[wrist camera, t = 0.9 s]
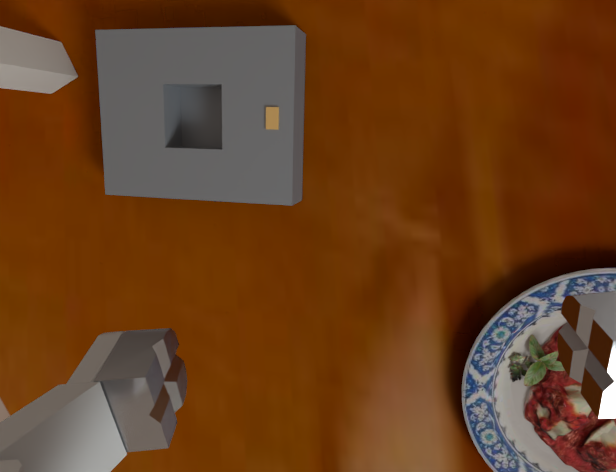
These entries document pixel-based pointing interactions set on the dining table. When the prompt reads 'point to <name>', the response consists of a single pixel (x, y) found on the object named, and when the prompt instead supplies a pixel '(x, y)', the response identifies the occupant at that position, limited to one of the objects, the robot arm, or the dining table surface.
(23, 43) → the white square bottle
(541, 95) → the dining table surface
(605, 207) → the dining table surface
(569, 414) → the ceramic plate
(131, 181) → the block
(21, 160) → the dining table surface
